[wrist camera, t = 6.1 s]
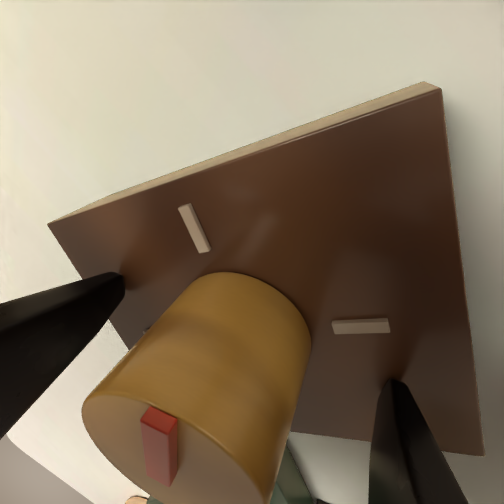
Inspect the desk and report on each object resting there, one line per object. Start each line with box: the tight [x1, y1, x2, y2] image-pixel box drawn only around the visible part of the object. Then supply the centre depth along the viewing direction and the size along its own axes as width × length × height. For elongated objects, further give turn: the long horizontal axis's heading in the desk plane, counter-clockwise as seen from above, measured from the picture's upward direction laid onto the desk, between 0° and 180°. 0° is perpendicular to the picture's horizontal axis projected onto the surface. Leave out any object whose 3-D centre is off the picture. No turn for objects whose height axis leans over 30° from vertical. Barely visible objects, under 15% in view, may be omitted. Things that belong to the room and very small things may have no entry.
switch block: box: [147, 445, 314, 504], centre depth 20 cm, size 12×10×4 cm
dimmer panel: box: [47, 82, 485, 457], centre depth 11 cm, size 12×10×3 cm
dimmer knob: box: [82, 272, 311, 504], centre depth 8 cm, size 4×4×4 cm
